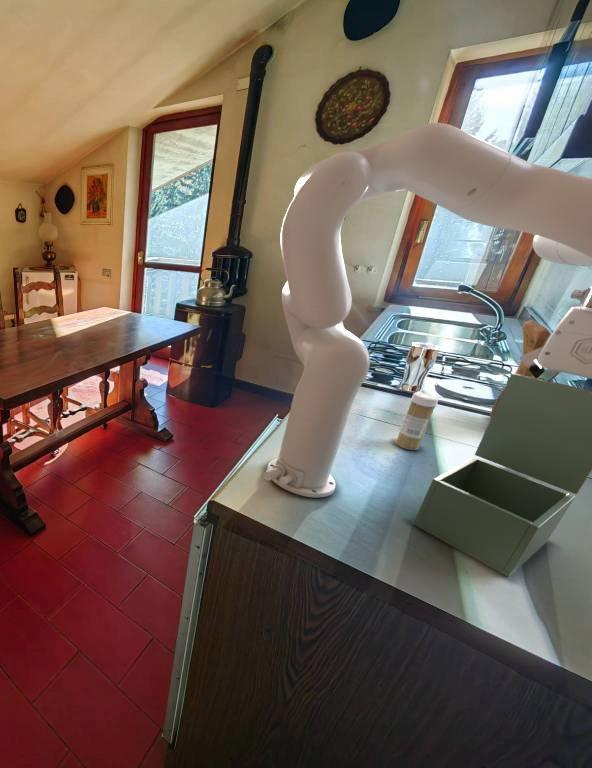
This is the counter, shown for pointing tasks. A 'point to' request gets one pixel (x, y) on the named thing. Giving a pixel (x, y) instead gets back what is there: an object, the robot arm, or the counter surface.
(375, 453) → the counter surface
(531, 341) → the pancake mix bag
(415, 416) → the sprinkles bottle
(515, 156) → the robot arm
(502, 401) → the lid
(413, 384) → the beer glass
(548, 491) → the green box
